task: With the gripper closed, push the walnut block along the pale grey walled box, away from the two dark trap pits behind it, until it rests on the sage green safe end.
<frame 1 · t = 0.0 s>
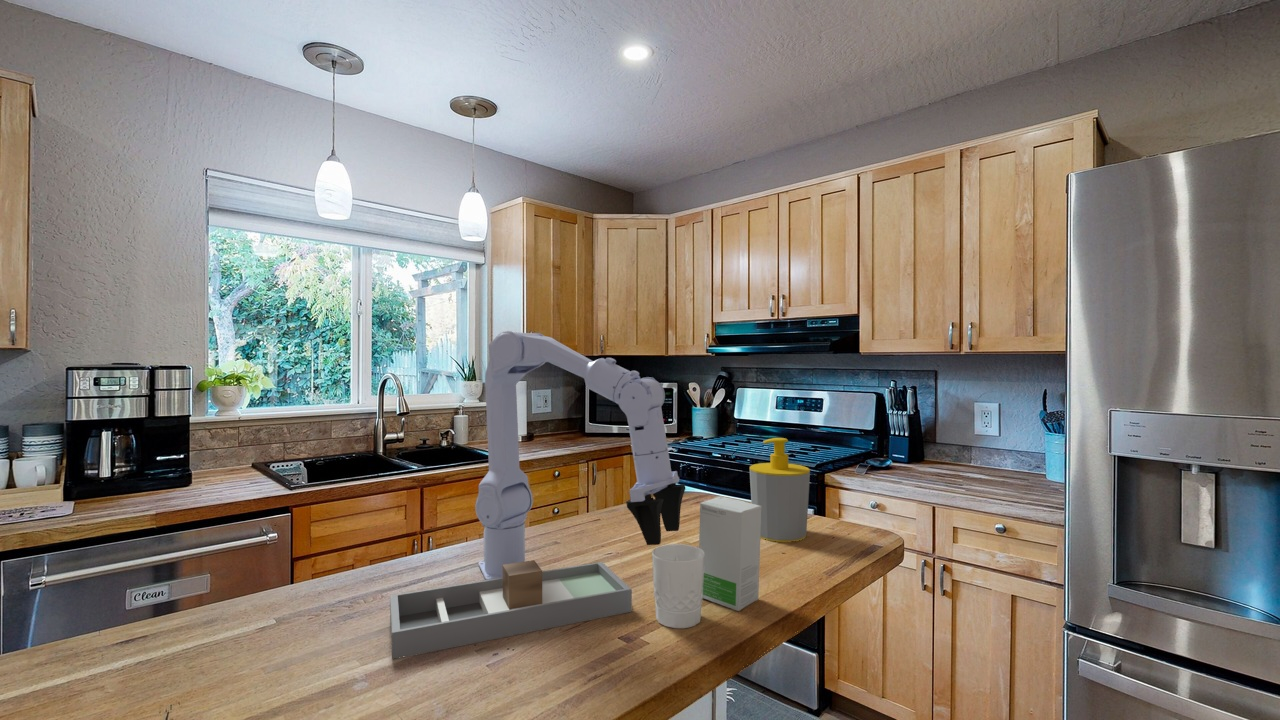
hand: (663, 537, 92), 11 cm above the counter, tool pointing down, fingers open, 7 cm apart
skincare box: (729, 599, 94), on the counter
walnut block: (522, 600, 89), point 2 cm above the counter, touching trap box
soap bottle: (779, 534, 128), on the counter
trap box: (512, 615, 88), on the counter
white cup: (678, 620, 87), on the counter
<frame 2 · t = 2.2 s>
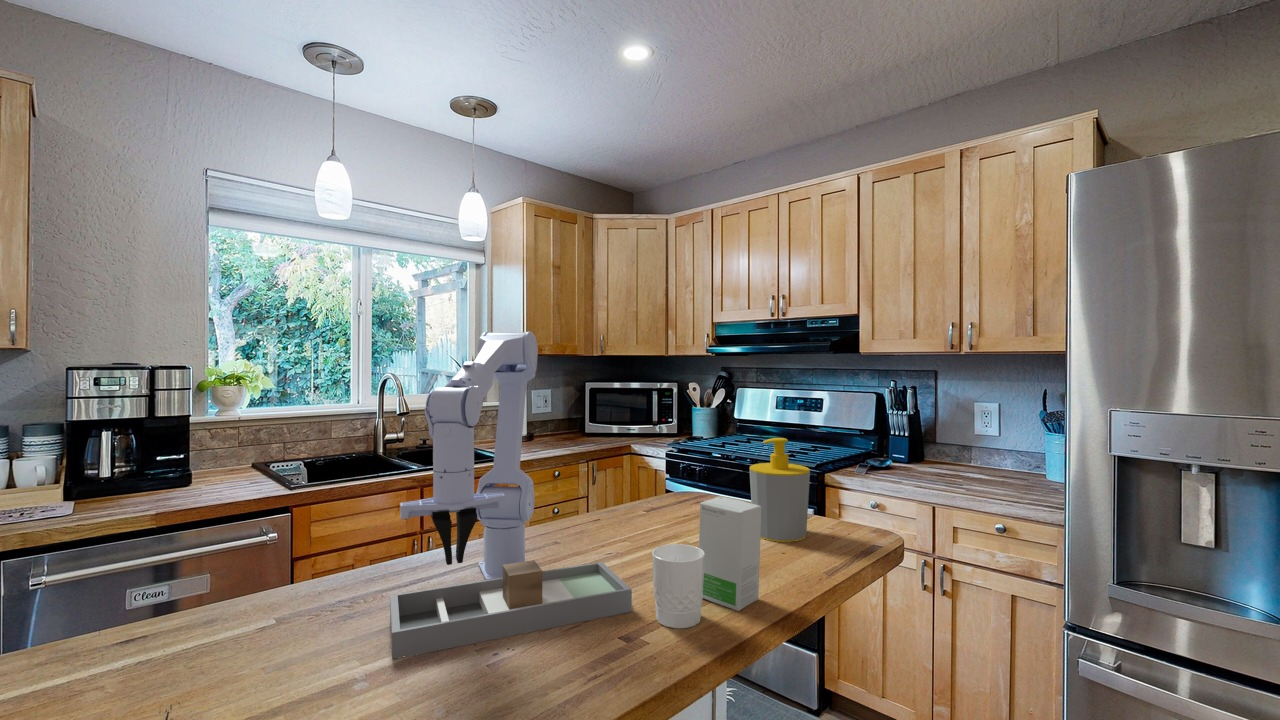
hand: (454, 561, 84), 9 cm above the counter, tool pointing down, fingers closed
nothing on the counter moved.
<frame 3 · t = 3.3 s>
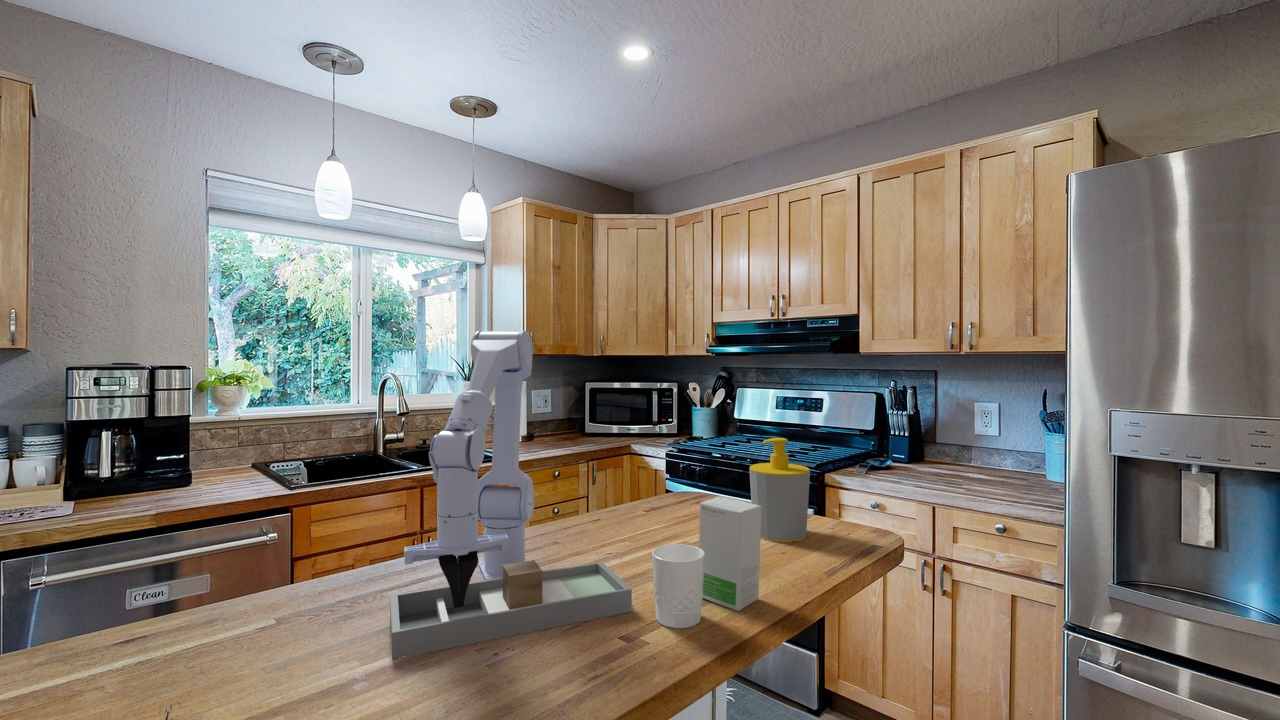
hand: (458, 604, 85), 3 cm above the counter, tool pointing down, fingers closed
nothing on the counter moved.
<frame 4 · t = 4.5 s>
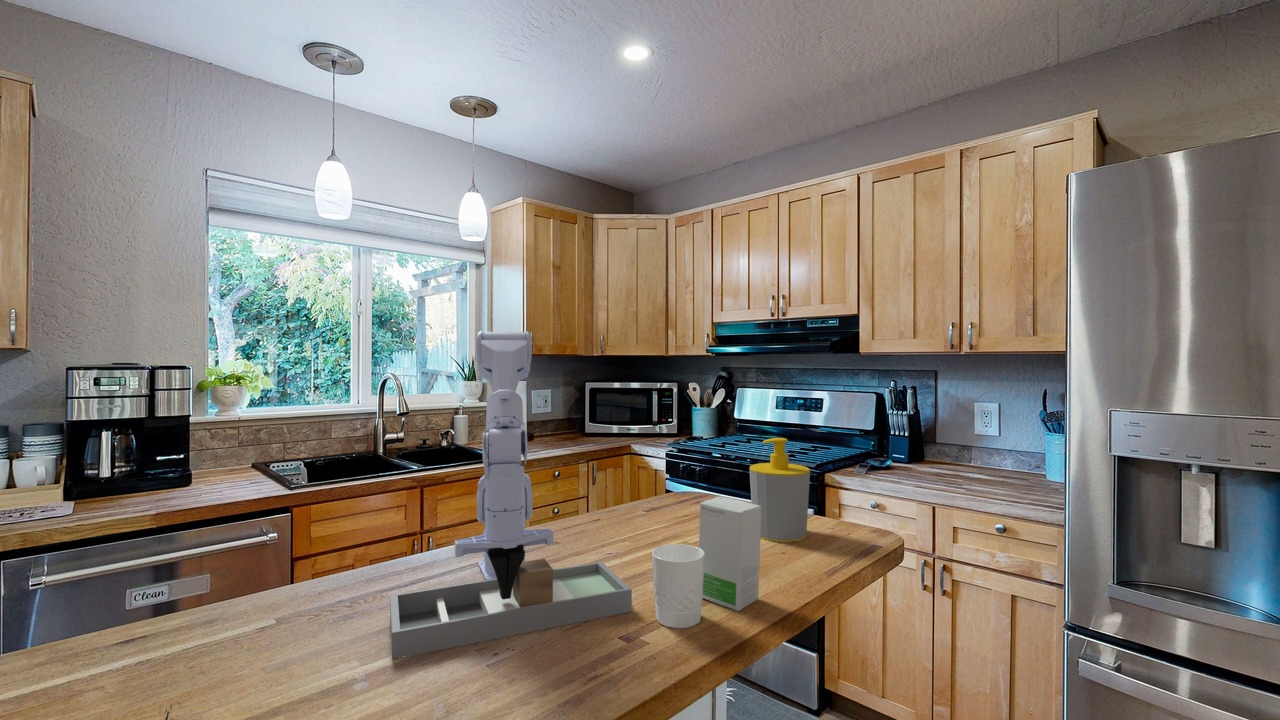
hand: (505, 596, 87), 3 cm above the counter, tool pointing down, fingers closed
walnut block: (532, 598, 89), point 2 cm above the counter, touching gripper
everything else where it was.
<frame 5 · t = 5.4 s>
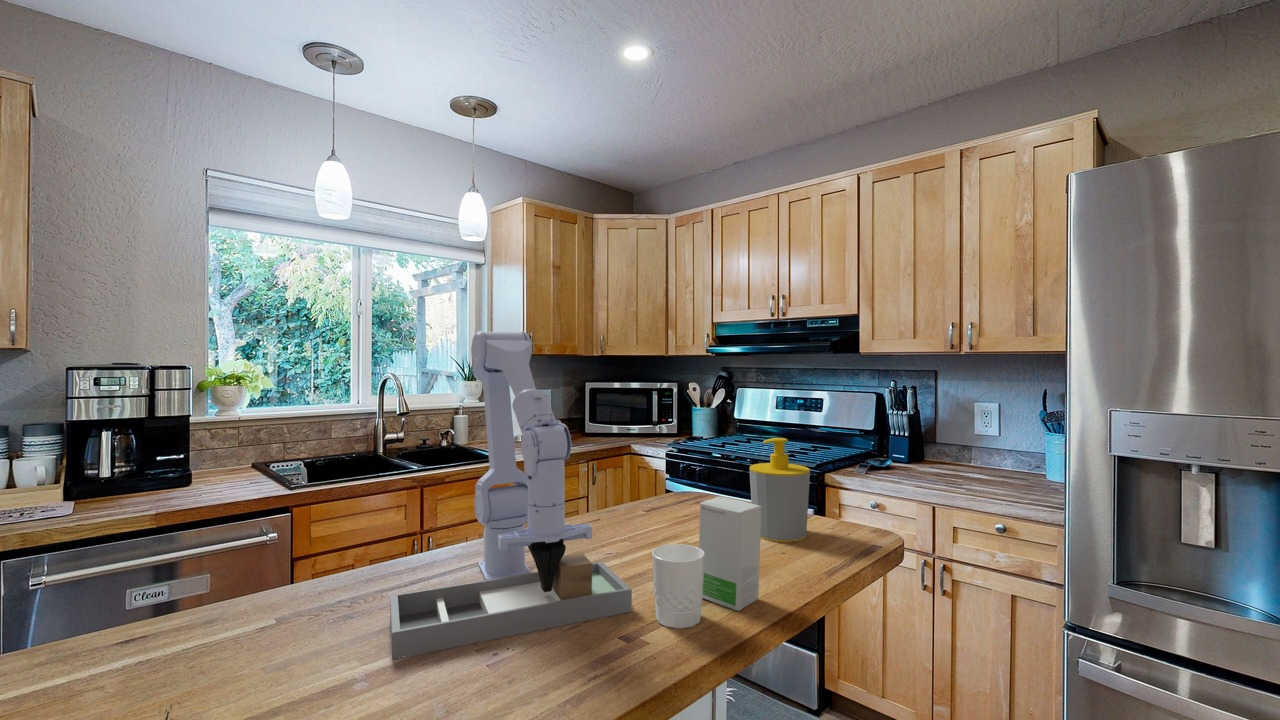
hand: (546, 589, 90), 3 cm above the counter, tool pointing down, fingers closed
walnut block: (571, 591, 92), point 2 cm above the counter, touching gripper
everything else where it was.
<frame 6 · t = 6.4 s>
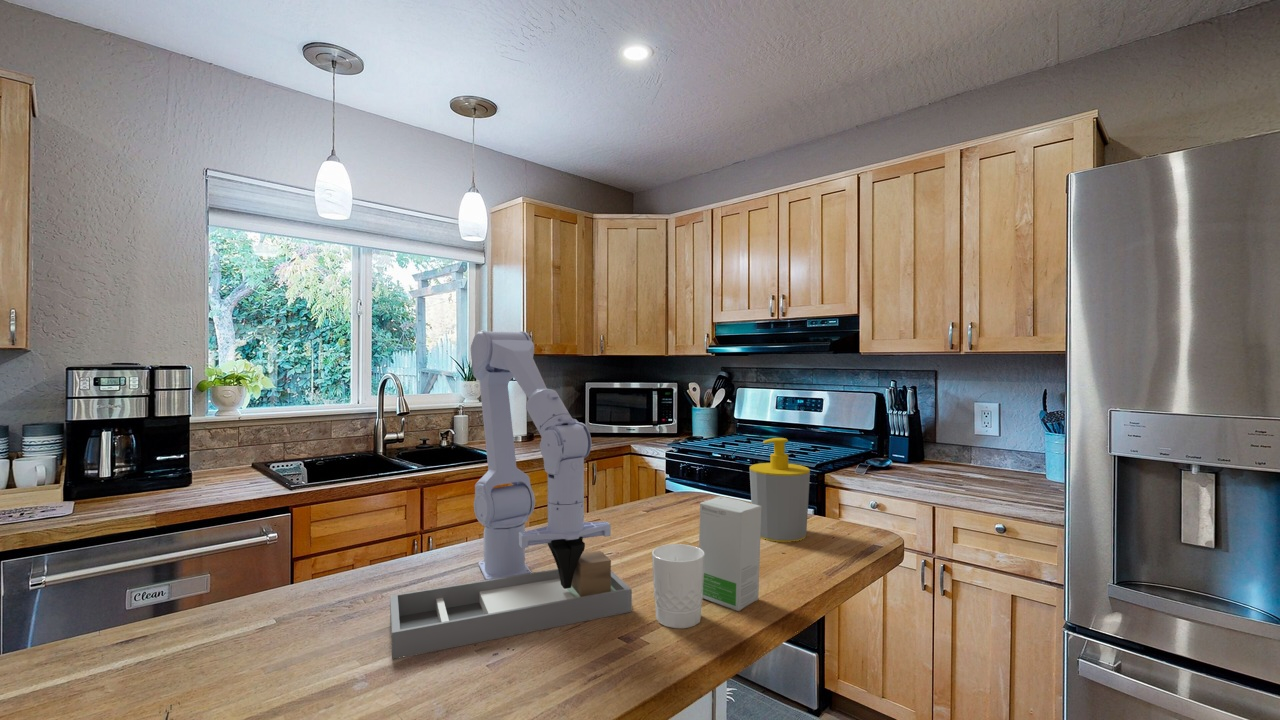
hand: (566, 586, 91), 3 cm above the counter, tool pointing down, fingers closed
walnut block: (590, 588, 93), point 2 cm above the counter, touching gripper, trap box
everything else where it was.
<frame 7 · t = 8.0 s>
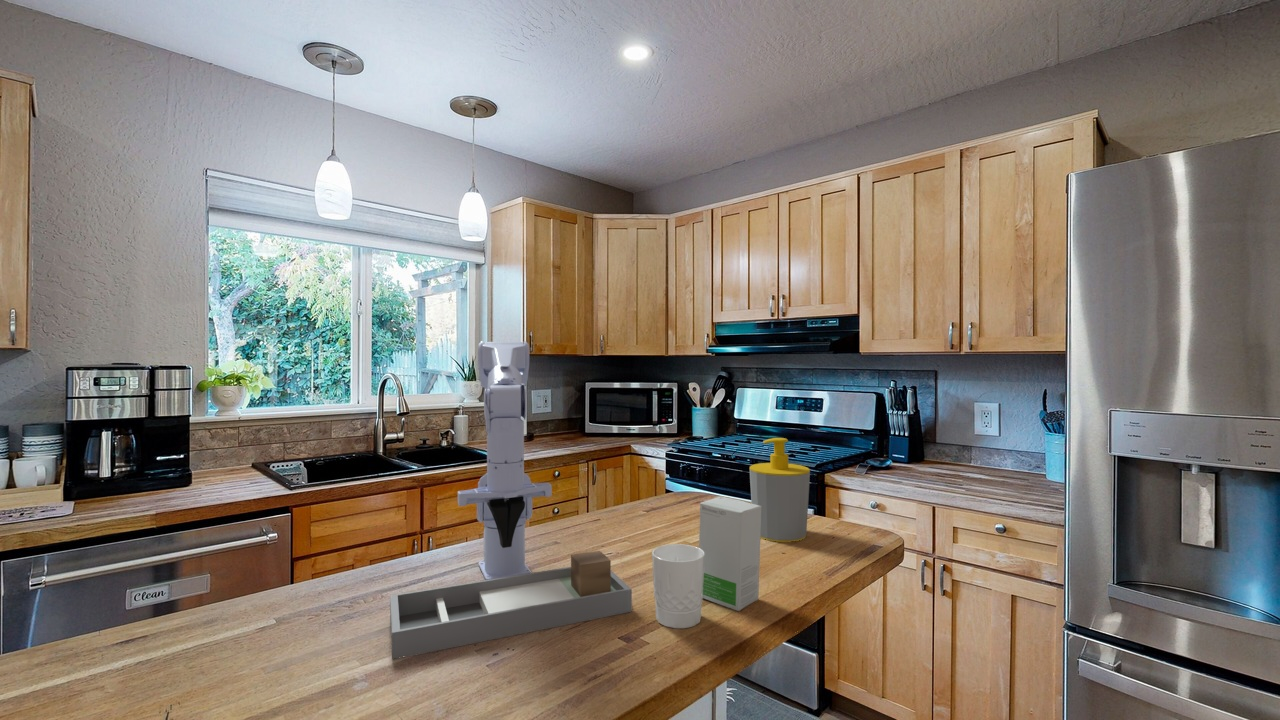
hand: (505, 545, 92), 9 cm above the counter, tool pointing down, fingers closed
walnut block: (590, 588, 93), point 2 cm above the counter, touching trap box
everything else where it was.
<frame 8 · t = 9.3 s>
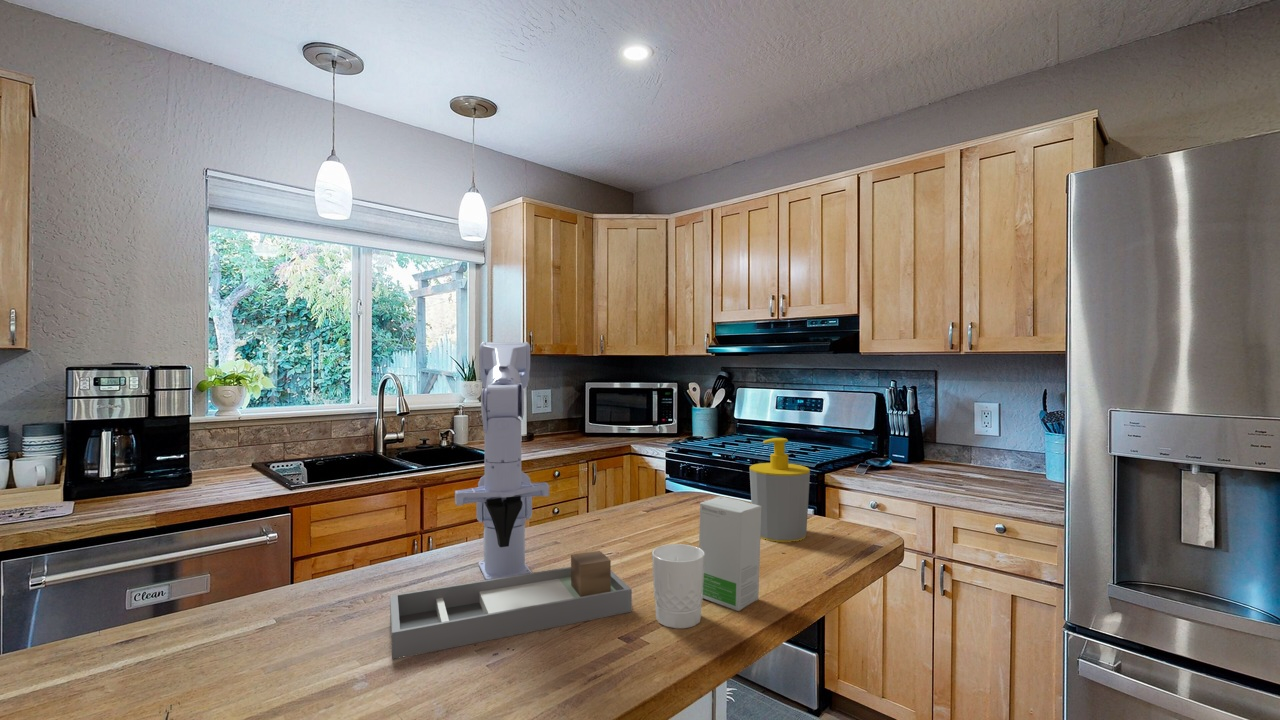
hand: (503, 545, 92), 9 cm above the counter, tool pointing down, fingers closed
nothing on the counter moved.
at the end: walnut block inside the target area on the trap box (0.7 cm from its centre), point 2.0 cm above the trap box's base; walnut block tilted 0° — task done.
